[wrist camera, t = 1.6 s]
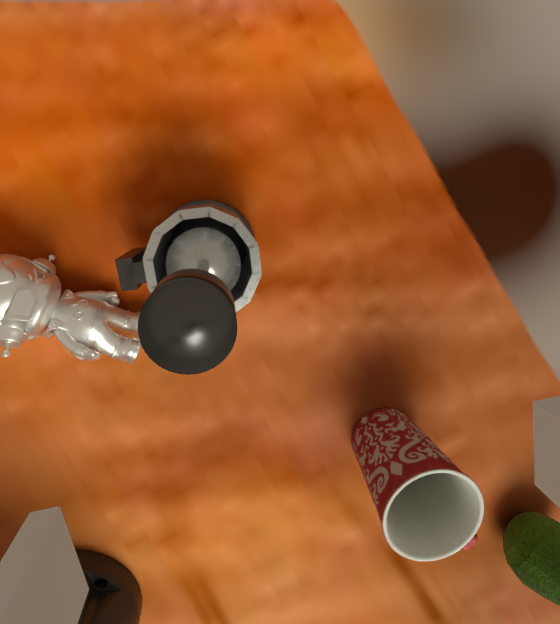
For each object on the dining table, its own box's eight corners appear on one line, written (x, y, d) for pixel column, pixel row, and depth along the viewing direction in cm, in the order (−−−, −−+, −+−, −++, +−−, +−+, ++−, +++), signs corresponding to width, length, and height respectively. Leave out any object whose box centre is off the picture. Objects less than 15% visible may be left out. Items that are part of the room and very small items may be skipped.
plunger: (173, 304, 36) (132, 401, 19) (160, 232, 35) (103, 270, 18) (245, 294, 36) (263, 381, 20) (235, 222, 35) (247, 252, 18)
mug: (325, 437, 51) (361, 521, 38) (387, 383, 50) (445, 450, 37) (394, 504, 54) (447, 602, 42) (453, 454, 54) (526, 538, 41)
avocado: (536, 486, 56) (617, 562, 45) (554, 532, 59) (635, 616, 47) (478, 515, 56) (544, 598, 45) (497, 560, 59) (565, 651, 47)
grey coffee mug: (149, 304, 45) (127, 337, 35) (130, 208, 43) (101, 214, 32) (260, 289, 46) (271, 317, 36) (248, 194, 44) (257, 195, 33)
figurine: (133, 382, 39) (-74, 317, 33) (111, 402, 44) (-69, 350, 38) (165, 279, 44) (-7, 207, 38) (141, 309, 50) (-11, 250, 44)
